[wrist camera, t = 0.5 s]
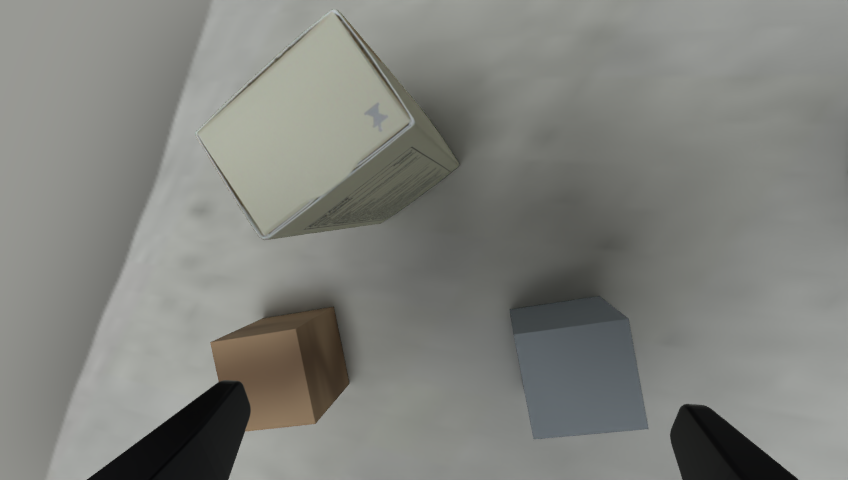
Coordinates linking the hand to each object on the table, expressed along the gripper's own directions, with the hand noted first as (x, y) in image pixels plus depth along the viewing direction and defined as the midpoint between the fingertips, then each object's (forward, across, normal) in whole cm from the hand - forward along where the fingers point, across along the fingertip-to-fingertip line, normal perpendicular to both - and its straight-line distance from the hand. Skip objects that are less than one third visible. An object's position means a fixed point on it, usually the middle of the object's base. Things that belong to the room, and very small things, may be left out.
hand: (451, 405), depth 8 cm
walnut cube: (+13, +10, +11) cm, 20 cm away
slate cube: (+12, -6, +10) cm, 17 cm away
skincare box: (+17, +4, +1) cm, 18 cm away
